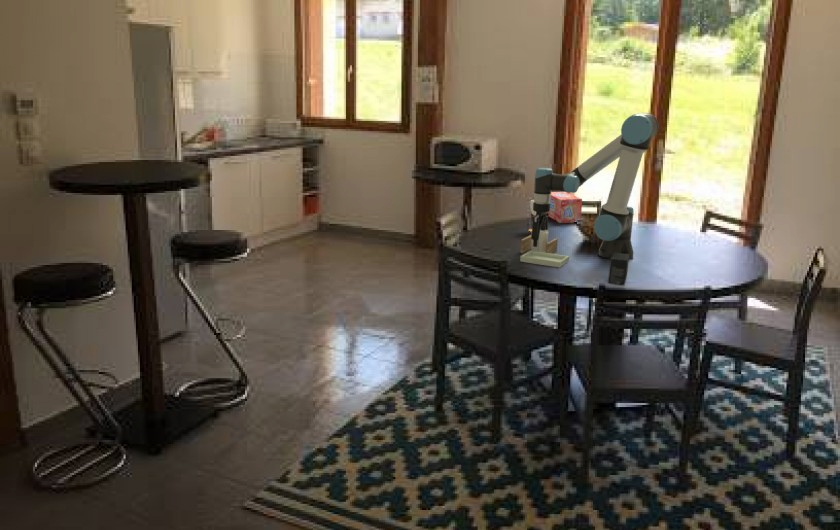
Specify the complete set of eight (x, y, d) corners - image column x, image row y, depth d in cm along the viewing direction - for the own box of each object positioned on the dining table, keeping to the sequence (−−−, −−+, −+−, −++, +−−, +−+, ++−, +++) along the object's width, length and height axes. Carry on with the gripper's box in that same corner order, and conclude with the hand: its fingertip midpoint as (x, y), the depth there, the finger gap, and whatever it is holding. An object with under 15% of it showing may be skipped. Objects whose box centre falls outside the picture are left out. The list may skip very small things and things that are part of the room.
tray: (568, 261, 299) (569, 256, 298) (559, 267, 289) (560, 262, 288) (530, 255, 308) (530, 250, 307) (520, 261, 298) (520, 256, 297)
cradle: (556, 251, 316) (557, 238, 314) (547, 256, 306) (548, 243, 304) (530, 247, 322) (530, 234, 320) (520, 252, 312) (521, 239, 310)
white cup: (547, 254, 310) (548, 233, 307) (529, 253, 311) (530, 232, 308) (547, 250, 317) (548, 229, 314) (530, 249, 318) (531, 228, 316)
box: (543, 214, 399) (544, 190, 395) (563, 213, 401) (565, 190, 397) (559, 224, 373) (561, 199, 369) (581, 223, 375) (583, 198, 372)
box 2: (624, 285, 266) (627, 260, 263) (607, 283, 268) (609, 258, 265) (627, 278, 275) (629, 253, 272) (610, 276, 278) (612, 251, 275)
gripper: (541, 198, 318) (538, 245, 324) (525, 205, 301) (522, 254, 307) (557, 199, 314) (553, 247, 321) (541, 207, 297) (538, 257, 304)
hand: (538, 251), depth 314 cm, fingers closed on white cup, 8 cm apart
